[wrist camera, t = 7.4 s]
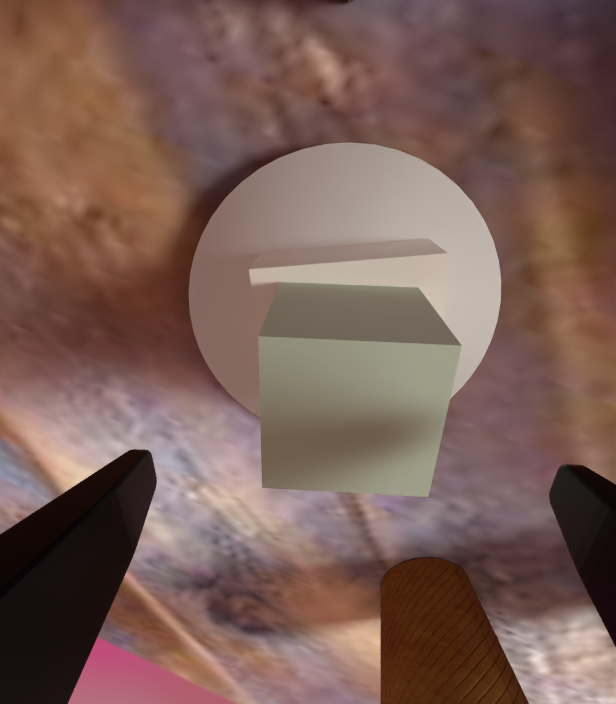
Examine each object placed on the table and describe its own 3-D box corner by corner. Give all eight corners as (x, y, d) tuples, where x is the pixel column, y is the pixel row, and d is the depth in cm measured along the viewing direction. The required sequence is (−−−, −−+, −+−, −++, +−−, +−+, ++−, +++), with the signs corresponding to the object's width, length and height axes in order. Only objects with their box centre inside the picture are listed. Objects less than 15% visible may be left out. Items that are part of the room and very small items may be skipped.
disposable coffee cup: (394, 638, 31) (430, 892, 20) (333, 568, 28) (337, 828, 17) (512, 603, 28) (626, 872, 18) (461, 522, 25) (562, 792, 14)
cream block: (422, 384, 19) (437, 420, 16) (280, 392, 20) (273, 428, 17) (427, 238, 16) (448, 253, 13) (261, 252, 17) (248, 269, 14)
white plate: (459, 427, 22) (468, 444, 21) (212, 418, 22) (205, 435, 21) (520, 145, 16) (539, 144, 15) (180, 142, 16) (167, 140, 15)
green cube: (400, 404, 16) (428, 497, 12) (280, 398, 16) (262, 487, 12) (418, 287, 14) (461, 345, 10) (279, 281, 14) (258, 336, 10)
